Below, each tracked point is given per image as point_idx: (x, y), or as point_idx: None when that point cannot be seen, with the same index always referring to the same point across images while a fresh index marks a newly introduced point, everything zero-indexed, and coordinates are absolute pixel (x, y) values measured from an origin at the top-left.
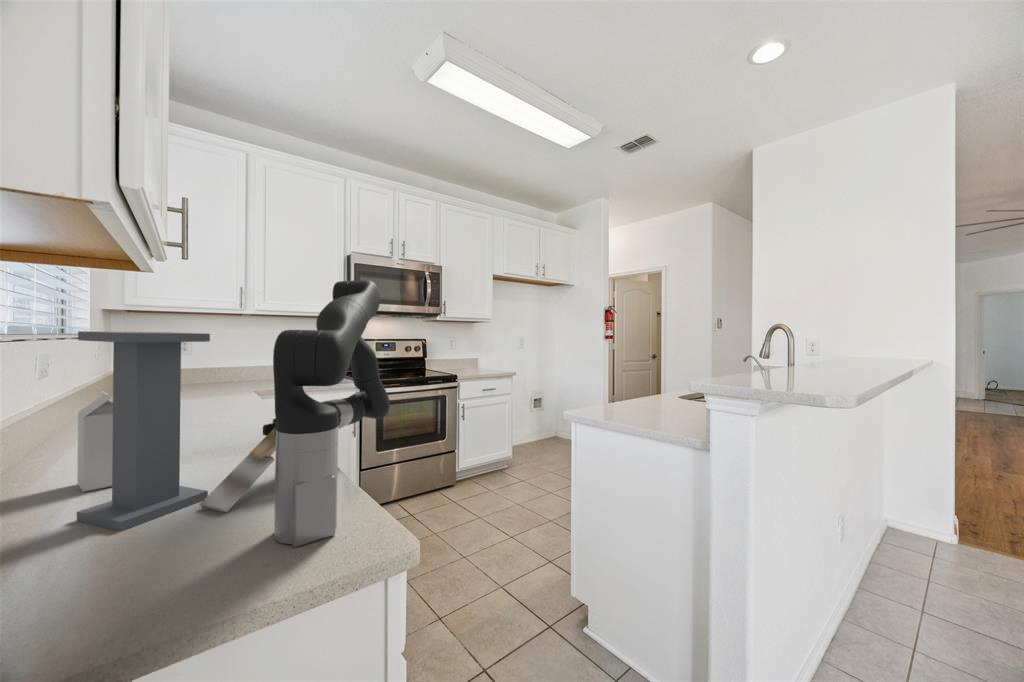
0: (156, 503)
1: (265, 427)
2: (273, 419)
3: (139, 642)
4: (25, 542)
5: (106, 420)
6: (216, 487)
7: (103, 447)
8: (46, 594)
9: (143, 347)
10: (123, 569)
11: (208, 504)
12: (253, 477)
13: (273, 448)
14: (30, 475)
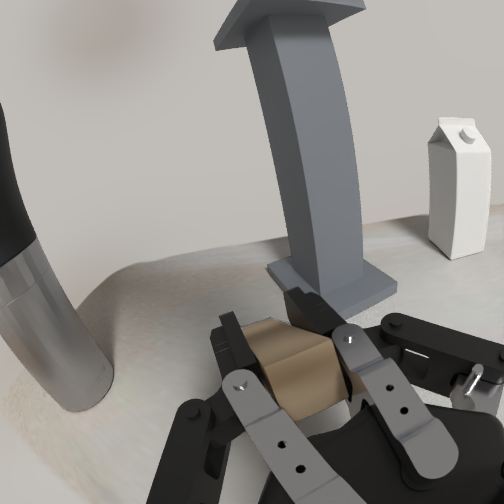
0: (304, 280)
1: (283, 294)
2: (398, 315)
3: (99, 288)
4: None
5: (439, 155)
6: (277, 320)
7: (439, 193)
8: (190, 259)
9: (248, 43)
10: (180, 280)
11: (253, 323)
12: None
13: None
14: (491, 211)
